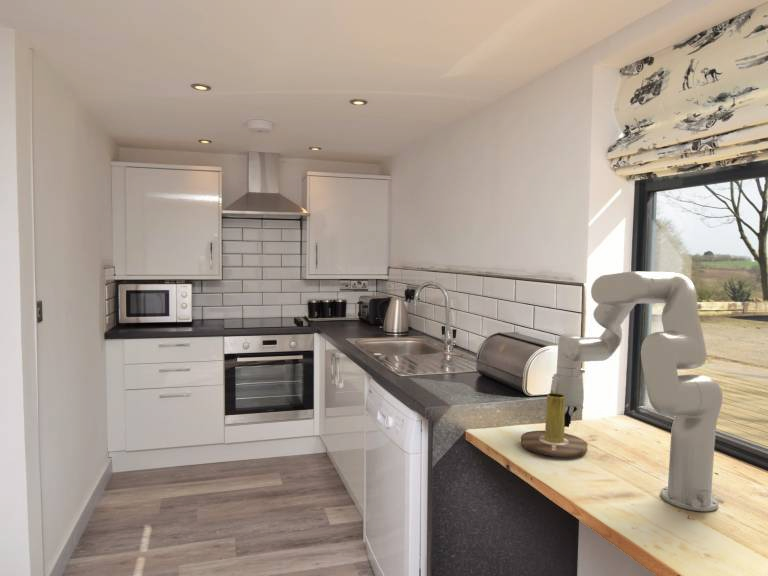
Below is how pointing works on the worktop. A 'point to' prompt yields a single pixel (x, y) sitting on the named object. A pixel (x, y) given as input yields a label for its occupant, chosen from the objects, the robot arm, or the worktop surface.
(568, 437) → the turntable
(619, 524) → the worktop surface
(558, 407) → the vase
